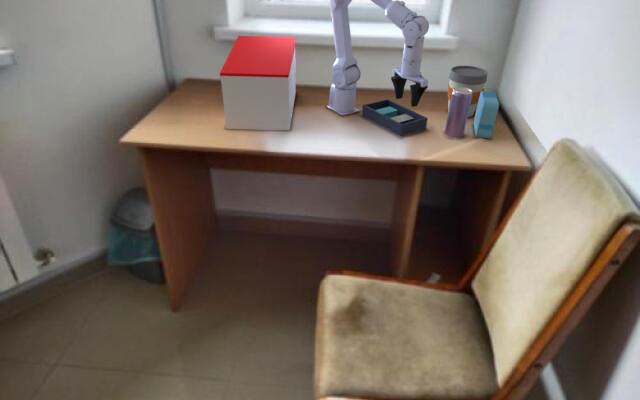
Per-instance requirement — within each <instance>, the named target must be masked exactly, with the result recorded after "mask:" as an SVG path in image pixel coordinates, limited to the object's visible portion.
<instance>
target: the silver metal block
mask: <svg viewBox="0 0 640 400" xmlns="http://www.w3.org/2000/svg"><path fill="white" fill-rule="evenodd" d="M391 119H393V120H395V121H397V122H399V123H401V124H405V123H409V122H412V121H414V118H413V117H411V116H409V115H407V114H403V115H399V116H396V117H392V118H391Z"/></svg>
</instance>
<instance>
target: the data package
mask: <svg viewBox="0 0 640 400" xmlns="http://www.w3.org/2000/svg"><path fill="white" fill-rule="evenodd" d="M499 107H500V102H499V99H498V95H497V92H494V91H485V90H483V91H481V93H480V97H479V101H478V103H477V106H476V109H475V113H474V114H475V115H474V119H473V130H474V134H475V137H476V138H481V139H491V138H492V135H493V130H494V127H495V124H496V119H497V117H498V116H497V115H498V112H499V109H500V108H499Z"/></svg>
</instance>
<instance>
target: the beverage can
mask: <svg viewBox="0 0 640 400" xmlns="http://www.w3.org/2000/svg"><path fill="white" fill-rule="evenodd" d="M471 98H472V90H471V89H468V88H464V87H457V88H454V89H453V92H452V96H451V101H450V106H449V111H448V110H447V117H446V123H445V128H444V134H445V136H447V137H449V138H454V139H459V138H463V136H464V135H465V130H466V127H467V126H466V125H467V120H468V118H469V117H468V112H469V108H470V103H471Z"/></svg>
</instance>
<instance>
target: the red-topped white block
mask: <svg viewBox="0 0 640 400" xmlns="http://www.w3.org/2000/svg"><path fill="white" fill-rule="evenodd" d="M296 69H297V68H296V37H294V36H263V35H261V36H260V35H257V36H256V35H238V36H237V38H236V39H235V41H234V43H233V46H232V48H231V49H230V52H229V54H228V55H227V58H226V60H225V62H224V64H223V66H222V67H221V70H220V71H219V77H220V83H221V84H220V85H221V93H222V94H221V95H222V104H223V112H224V113H223V114H224V122H225V129H226V130H257V131H258V130H259V131H260V130H261V131H263V130H264V131H290V129H291V124H292V123H291V122H292V116H293V111H294V105H295V100H296V93H297V92H296V91H297V88H296V86H297V82H296V80H297V79H296V78H297V77H296V76H297V75H296V71H297V70H296Z"/></svg>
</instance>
